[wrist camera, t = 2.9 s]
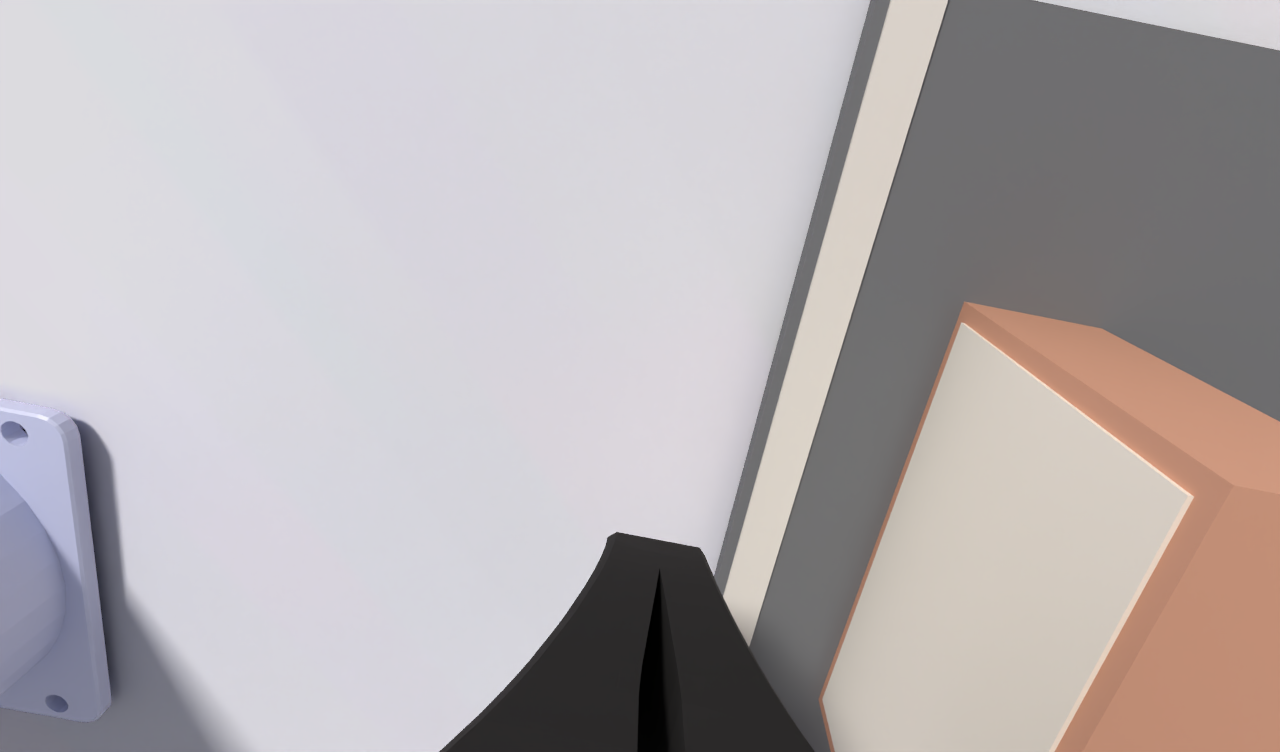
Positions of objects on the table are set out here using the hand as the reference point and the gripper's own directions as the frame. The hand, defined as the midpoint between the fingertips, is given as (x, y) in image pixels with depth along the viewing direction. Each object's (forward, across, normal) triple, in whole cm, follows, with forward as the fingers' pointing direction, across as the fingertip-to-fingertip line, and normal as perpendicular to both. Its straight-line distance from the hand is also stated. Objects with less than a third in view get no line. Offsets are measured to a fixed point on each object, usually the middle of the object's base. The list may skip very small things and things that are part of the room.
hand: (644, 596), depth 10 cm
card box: (+3, -6, 0) cm, 7 cm away
